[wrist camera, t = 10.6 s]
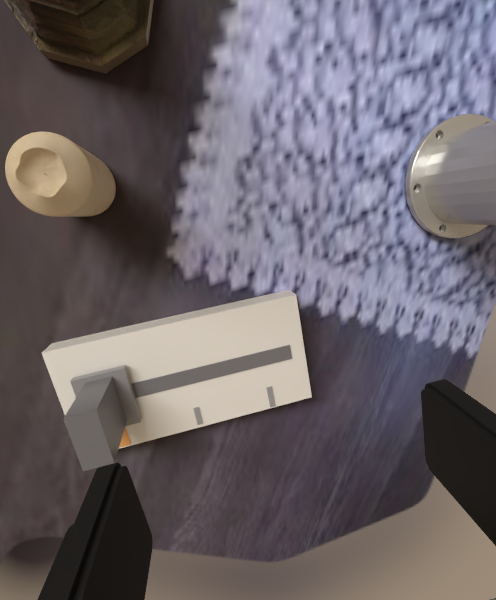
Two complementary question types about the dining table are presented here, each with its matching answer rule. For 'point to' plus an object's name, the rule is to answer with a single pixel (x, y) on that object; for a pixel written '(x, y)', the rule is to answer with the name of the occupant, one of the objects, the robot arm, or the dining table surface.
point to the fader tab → (101, 415)
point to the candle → (58, 176)
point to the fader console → (195, 364)
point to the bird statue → (86, 29)
